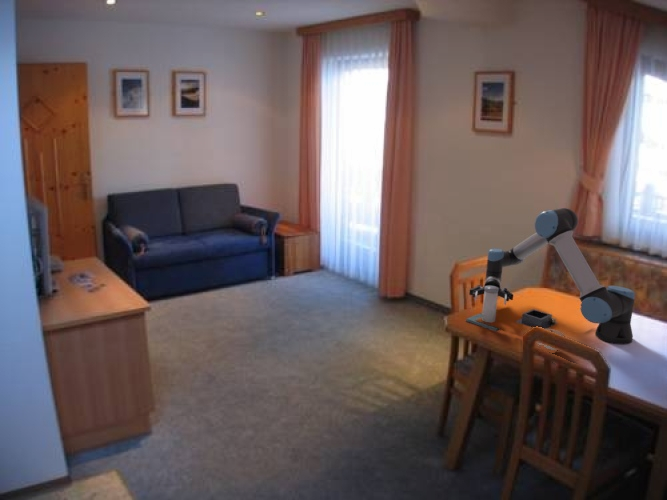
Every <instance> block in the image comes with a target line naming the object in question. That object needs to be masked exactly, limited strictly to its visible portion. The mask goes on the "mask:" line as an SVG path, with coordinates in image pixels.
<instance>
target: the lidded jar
mask: <svg viewBox="0 0 667 500" xmlns="http://www.w3.org/2000/svg"><path fill="white" fill-rule="evenodd" d="M545 330H548V331H551V332H554V333H556V334H558V335H561V336H564V338H566V337H565V334H564V333H563V332H562V331H561V330H557V329H552V328H547V329H545ZM538 344H539V345H544V344H542V343H538V342H537V345H538ZM539 345H538V346H539ZM544 347H546V348H547V349H551V350H556V349H554V348H552V347H550V346H547V345H544Z"/></svg>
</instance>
